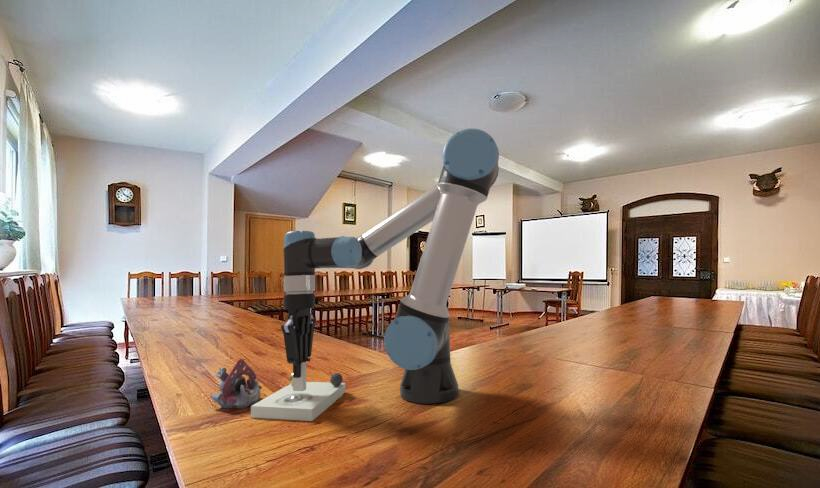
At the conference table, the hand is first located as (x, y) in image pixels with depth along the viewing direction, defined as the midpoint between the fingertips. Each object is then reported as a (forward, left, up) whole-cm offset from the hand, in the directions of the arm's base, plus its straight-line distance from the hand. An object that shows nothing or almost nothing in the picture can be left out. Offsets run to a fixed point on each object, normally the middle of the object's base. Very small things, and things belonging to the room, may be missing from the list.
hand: (299, 389), depth 88 cm
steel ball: (0, +2, -2) cm, 3 cm away
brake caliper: (+17, 0, -4) cm, 17 cm away
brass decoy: (+6, -8, 0) cm, 10 cm away
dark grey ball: (-6, -8, 0) cm, 10 cm away
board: (0, -1, -4) cm, 4 cm away
